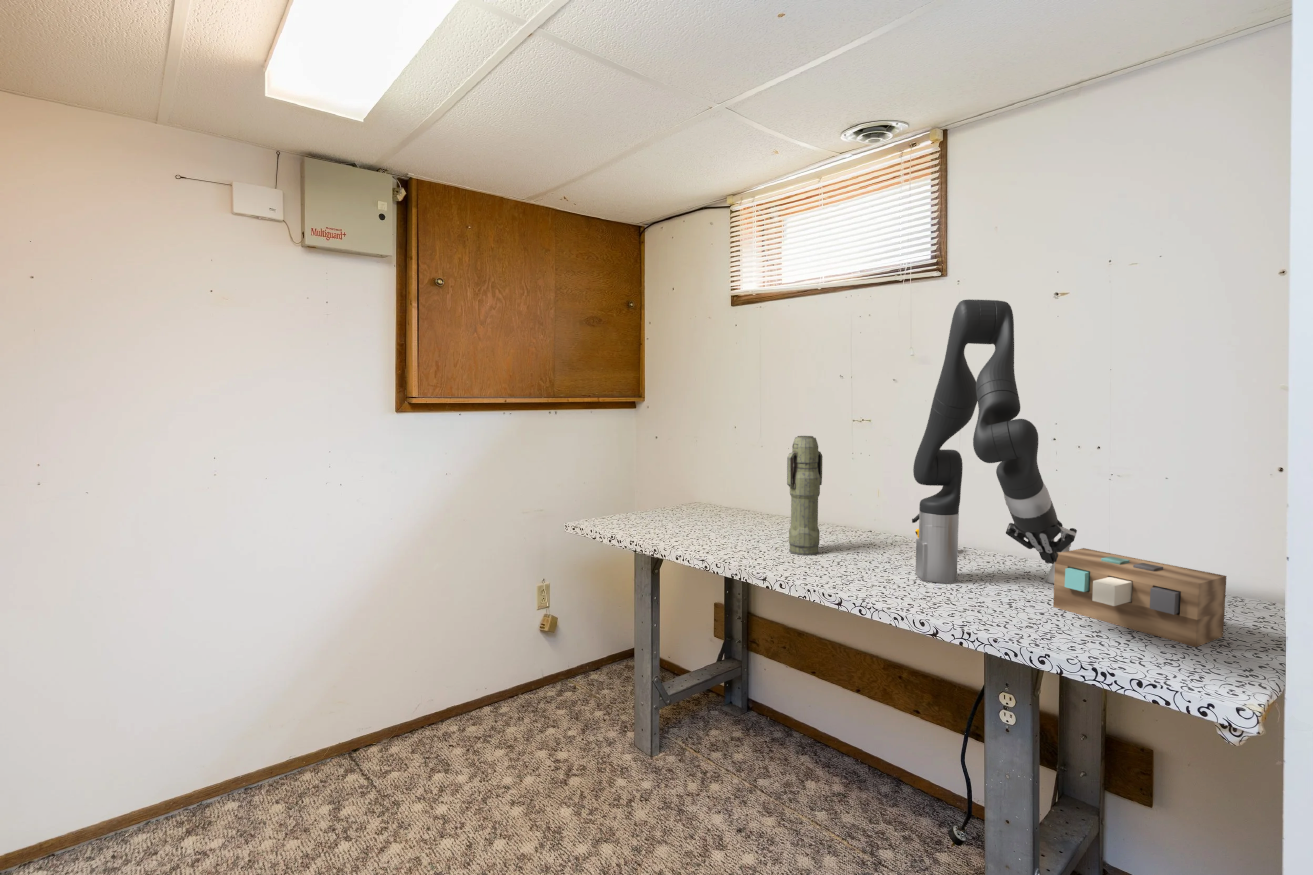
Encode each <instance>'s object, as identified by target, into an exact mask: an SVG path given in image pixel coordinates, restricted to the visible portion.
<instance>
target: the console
mask: <svg viewBox="0 0 1313 875" xmlns="http://www.w3.org/2000/svg"><path fill="white" fill-rule="evenodd" d="M1071 567H1073V568H1078V569H1082V570H1087V571H1090V591H1086V592H1082V591H1078V590H1074V589H1070V588H1066V587H1065V569H1067V568H1071ZM1112 576H1113V577H1118V578H1122V579H1127V580H1131V581H1133V594H1132V601H1131V602H1127V603H1124V604H1120V605H1117V606H1111V605H1108V604H1104V603H1100V602H1096V601H1092V595H1093V581H1095V580H1099V579H1103V578H1108V577H1112ZM1157 586H1158V587H1163V588H1167V589H1172V590H1176V591H1181V599H1180V613H1178V614H1170V613H1166V612H1162V611H1158V610H1154V609H1150V590H1151V588H1153V587H1157ZM1226 589H1227V575H1224V574H1220V573H1219V574H1218V573H1214V572H1209V571H1203V570H1198V569H1192V568H1188V567H1183V566H1182V567H1181V566H1177V565H1172V564H1168V563H1167V564H1166V563H1163V562H1156V561H1152V560H1147V559H1141V558H1138V557H1137V558H1136V557H1131V556H1127V555H1121V554H1117V553H1111V552H1105V551H1100V550H1095V549H1090V548H1085V547H1081V548H1078V549H1072V550H1071V549H1070V550H1069V551H1066V552H1061V553H1058V558H1057V561H1056V562H1055V576H1054V585H1053V606H1052V607H1053V608H1056V609H1060V610H1063V611H1066V612H1070V613H1073V614H1077V615H1081V616H1085V617H1088V618H1092V619H1095V620H1098V621H1101V622H1104V623H1110V624H1113V625H1116V626H1119V627H1123V628H1127V629H1130V630H1133V631H1137V632H1140V633H1144V634H1148V635H1152V636H1155V637H1159V638H1161V639H1165V640H1168V641H1173V642H1176V643H1180V644H1184V645H1186V646H1190V647H1193V648H1196V647H1200V646H1202V645H1205V644H1207V643H1208V644H1209V643H1210V642H1213V641H1215V640H1218V639H1222V638H1223V637H1224V632H1225V631H1224V625H1225V613H1226V612H1225V609H1226V591H1227V590H1226Z"/></svg>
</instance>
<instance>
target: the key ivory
mask: <svg viewBox="0 0 1313 875" xmlns="http://www.w3.org/2000/svg"><path fill="white" fill-rule="evenodd" d="M1132 594H1133V581H1131V580H1127V579H1122V578H1118V577H1113V576H1112V577H1108V578H1103V579H1099V580H1095V581H1093V595H1092V601H1096V602H1100V603H1104V604H1108V605H1111V606H1117V605H1120V604H1124V603H1127V602H1131V601H1132Z"/></svg>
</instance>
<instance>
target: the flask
mask: <svg viewBox="0 0 1313 875" xmlns="http://www.w3.org/2000/svg"><path fill="white" fill-rule="evenodd" d="M1071 547H1072V543H1071V544H1070V545H1069V546H1067V547H1066V548H1065V549H1064V550H1063V551H1062V552H1066V551H1071V549H1070V548H1071ZM1057 553H1061V552H1057ZM1054 576H1055V562H1054V564H1051V566H1050V569H1049V571H1048V573H1047V575H1046V576H1045V578H1044V580H1045V582H1047V583H1049V584H1054Z"/></svg>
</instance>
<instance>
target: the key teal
mask: <svg viewBox="0 0 1313 875" xmlns="http://www.w3.org/2000/svg"><path fill="white" fill-rule="evenodd" d="M1065 587H1066V588H1070V589H1074V590H1078V591H1082V592H1086V591H1090V571H1087V570H1082V569H1078V568H1073V567H1071V568H1067V569H1065Z"/></svg>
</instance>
